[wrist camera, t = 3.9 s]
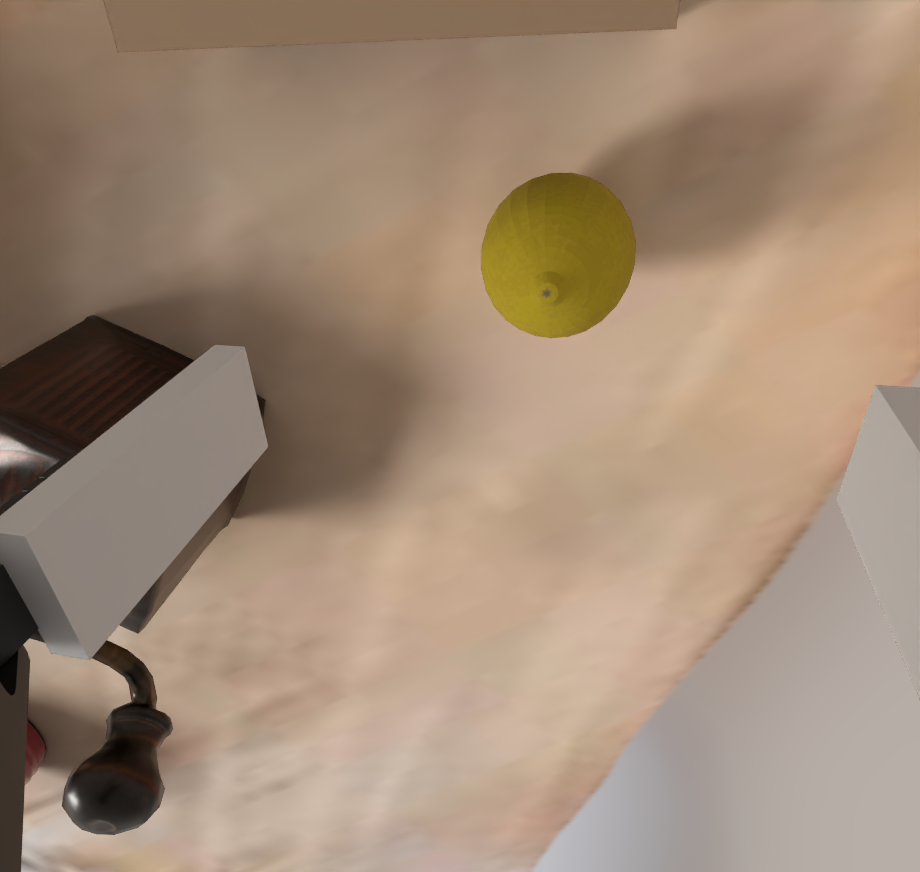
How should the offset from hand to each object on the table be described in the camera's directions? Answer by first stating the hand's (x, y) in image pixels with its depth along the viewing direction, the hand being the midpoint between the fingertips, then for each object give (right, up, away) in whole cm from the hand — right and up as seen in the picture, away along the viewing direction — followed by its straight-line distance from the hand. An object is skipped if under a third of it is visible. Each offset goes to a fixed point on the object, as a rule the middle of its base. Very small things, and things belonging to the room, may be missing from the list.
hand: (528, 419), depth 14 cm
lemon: (+3, +8, +13) cm, 16 cm away
